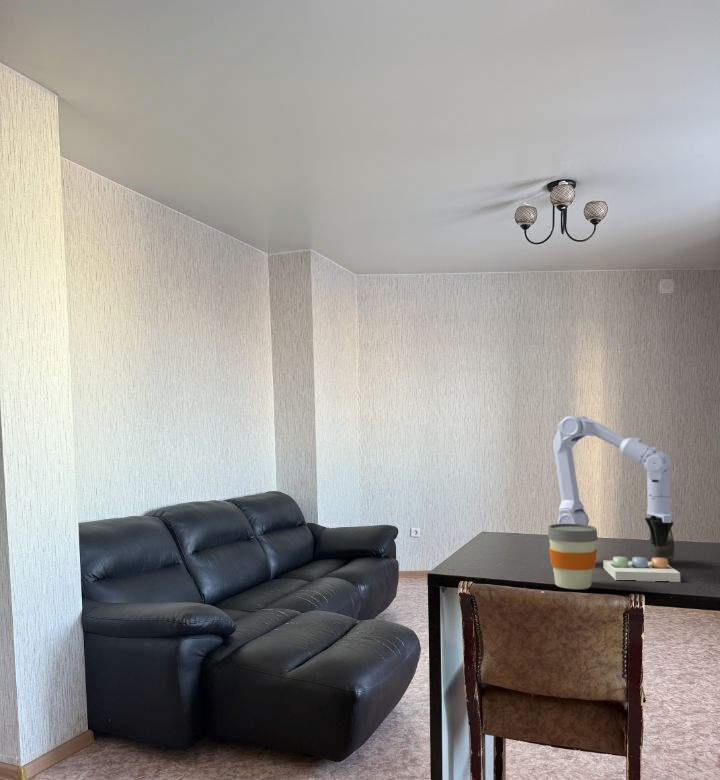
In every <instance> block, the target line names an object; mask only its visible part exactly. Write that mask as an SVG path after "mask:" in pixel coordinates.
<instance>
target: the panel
mask: <svg viewBox="0 0 720 780" xmlns="http://www.w3.org/2000/svg"><path fill="white" fill-rule="evenodd" d="M602 561H603V562H602V564H603V565H602V567H603V568H604V569H605V570H606V571H607V572H608V573H609V574H610V575H611V576H612V577H613V578H614V579H613V578H612V577H611V576H610V575H609V574H608V573H607V574H608V575H609V576H610V577H611V578H612V579H613V580H614V581H616V580H636V581H635V582H655V581H669V582H668V583H681V572H679V571H678V570H676V569H675V568H673V567H672V566H669V565H670V564H669V565H668V569H653V568H652V560H651V561H648V568H633V567H632V560H628V568H614V567H613V559H612V560H606V559H605V560H602ZM604 569H603V570H604ZM605 570H604V571H605ZM606 571H605V572H606Z"/></svg>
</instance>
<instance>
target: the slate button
mask: <svg viewBox="0 0 720 780" xmlns="http://www.w3.org/2000/svg"><path fill="white" fill-rule="evenodd" d="M648 560H649V559H648V557H644V556H643V557H642V556H632V558H631V561H632V567H633V568H648Z"/></svg>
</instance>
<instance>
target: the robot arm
mask: <svg viewBox="0 0 720 780" xmlns="http://www.w3.org/2000/svg"><path fill="white" fill-rule="evenodd" d="M587 436H591V437H592V436H593V437H596V438H599V439H600V440H602V441H605V442H607V443H608V444H610V445H612V446H615V447H616V448H619V451H620V453H621V455H622V456H624V457H625V458H627V459H629V460H631V461H633V462H635V463H636V464H638V465H640V466H642V467H644V469H645V471H647V472H646V473H647V474H646V477H647V478H646V488H647V489H646V493H647V494H646V497H647V498H646V499H647V501H646V503H647V508H646V514H647V516H650V517H645V518H644V520H645V522H646V524H647V526H648V529H649V532H650V533H651V537H652V541H653V544H657V546H666V543H667V538H668V534H669V531H670V529H671V530H672V527H673V525H674V521H672V515H673V516H674V515H675V514H676V512H674V511H672V510H671V502H670V501H671V498H670V496H671V495H670V492H671V490H670V487H671V485H670V468H671V466H672V459H671V457H670V456H669V455H668V454H667V453H666V452H665V451H661V450H660V451H657V449H658V448H656V447H655V446H652V447H651V446H649V445H647V444H646V443H644V442H642V439H641V438H639V437H635V438H634V437H628V438H625V437H623V436H622V435H620V434H619V433H617V432H615V431H614V430H612V429H610V428H608V427H606V426H605V425H603V424H601V422H598V421H596V420H594V419H593V418H592V419H591V418H588V417H587V416H585V415H578V416H577V415H576V416H575V415H567V416H565V417H564V418H562V420H560V422H559V423H558V424H557V431H556V434H555V435H554V438H553V441H552V446H553V447H552V448H553V455H554V461H555V469H556V474H557V480H558V481H557V483H558V489H559V494H560V495H559V496H560V500H561V501H560V504H559V508H558V516H557V521H556V522H557V523H556V524H582V525H589V521H590V520H589V515H588V514H587V512H586V510H585V507H584V504H583V503H582V501H581V500H580V493H579V487H578V482H577V474H576V467H575V462H574V461H575V460H574V455H573V447H574V446H575V445H576V444H577V443H578V442H579V440H582V439H583V438H585V437H587Z"/></svg>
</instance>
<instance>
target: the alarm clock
mask: <svg viewBox="0 0 720 780" xmlns="http://www.w3.org/2000/svg"><path fill="white" fill-rule="evenodd" d="M649 537H650V538H649V539H648V540H649V541H650V546H651V547H650V548H651V551H652V554H653V558H654V557H660V558H666V559H667V562H668V565H669V566H670V561H673V559H674V557H675V542H674V534H673V531H672V528H671V529H670V531H669V534H668V538H667V543H666V546H657V544H653V541H652V537H651V533H650V535H649ZM670 567H671V566H670Z"/></svg>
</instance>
